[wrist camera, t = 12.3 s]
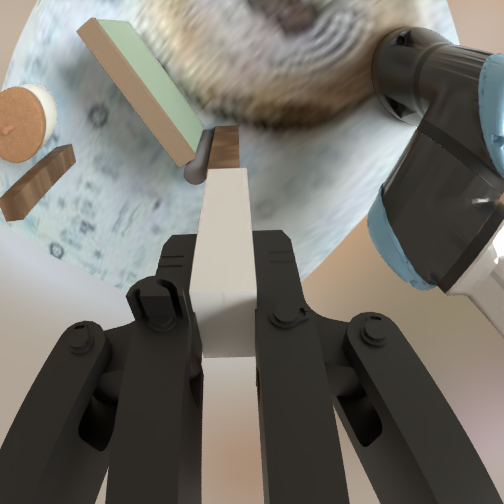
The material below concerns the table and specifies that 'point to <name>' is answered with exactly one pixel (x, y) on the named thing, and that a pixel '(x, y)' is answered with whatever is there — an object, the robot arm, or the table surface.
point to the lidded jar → (25, 121)
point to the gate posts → (62, 158)
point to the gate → (150, 93)
